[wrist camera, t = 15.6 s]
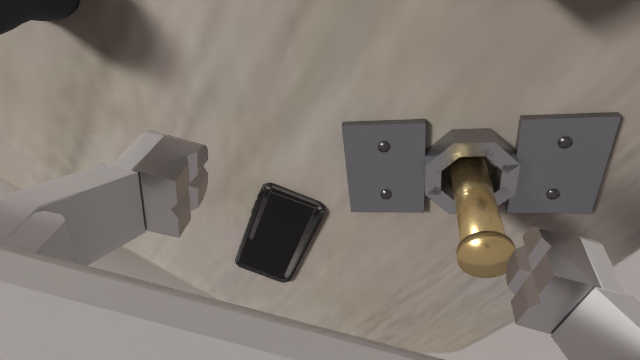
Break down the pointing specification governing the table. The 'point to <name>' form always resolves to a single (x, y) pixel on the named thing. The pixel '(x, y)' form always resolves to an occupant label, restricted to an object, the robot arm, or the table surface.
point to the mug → (33, 11)
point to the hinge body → (511, 165)
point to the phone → (278, 232)
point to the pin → (478, 220)
